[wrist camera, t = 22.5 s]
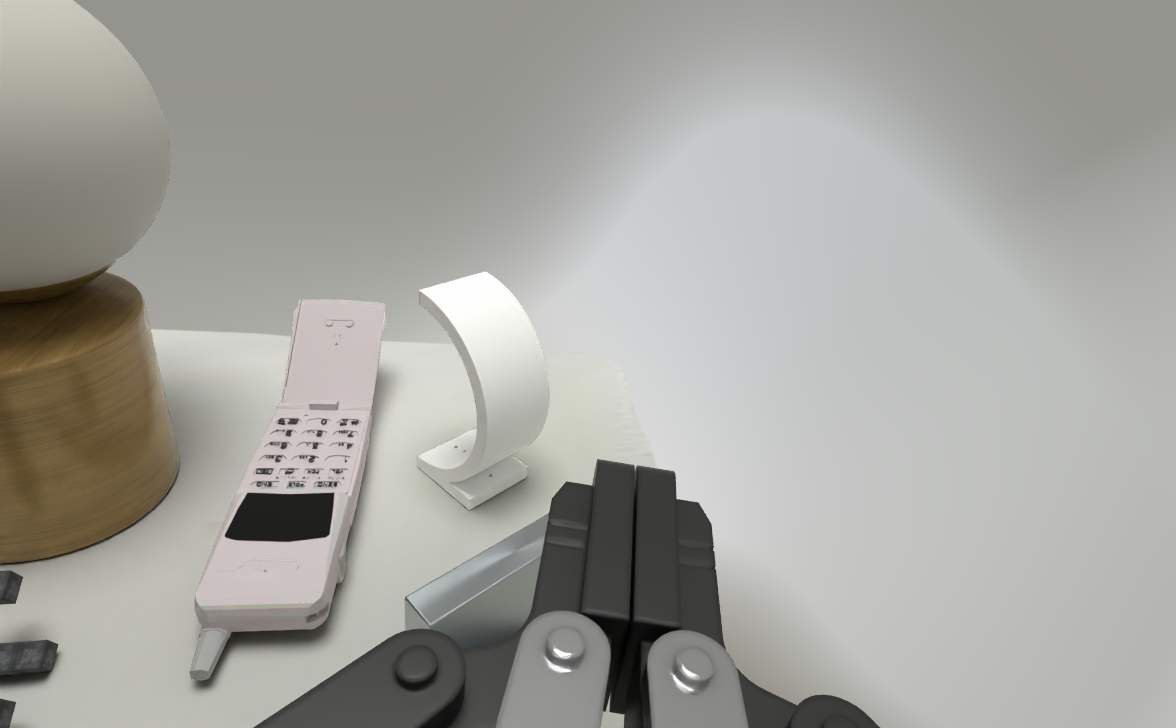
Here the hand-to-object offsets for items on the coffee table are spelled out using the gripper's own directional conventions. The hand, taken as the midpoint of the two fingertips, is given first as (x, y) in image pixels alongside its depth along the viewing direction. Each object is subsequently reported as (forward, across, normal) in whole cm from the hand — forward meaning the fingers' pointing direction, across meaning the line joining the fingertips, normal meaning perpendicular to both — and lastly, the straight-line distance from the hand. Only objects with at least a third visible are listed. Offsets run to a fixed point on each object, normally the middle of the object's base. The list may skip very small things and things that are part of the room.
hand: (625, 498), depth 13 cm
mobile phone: (+19, +16, +20) cm, 31 cm away
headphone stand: (+22, +7, +20) cm, 30 cm away
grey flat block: (+9, +3, +18) cm, 20 cm away
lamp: (+18, +29, +20) cm, 39 cm away
